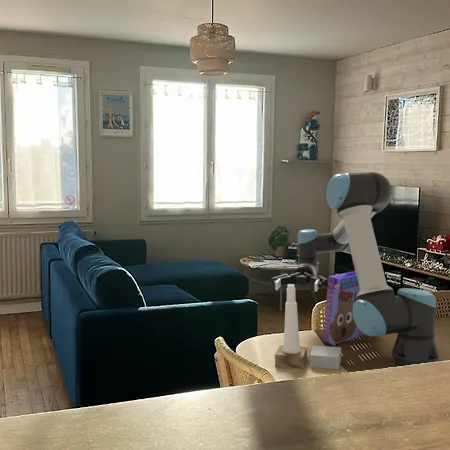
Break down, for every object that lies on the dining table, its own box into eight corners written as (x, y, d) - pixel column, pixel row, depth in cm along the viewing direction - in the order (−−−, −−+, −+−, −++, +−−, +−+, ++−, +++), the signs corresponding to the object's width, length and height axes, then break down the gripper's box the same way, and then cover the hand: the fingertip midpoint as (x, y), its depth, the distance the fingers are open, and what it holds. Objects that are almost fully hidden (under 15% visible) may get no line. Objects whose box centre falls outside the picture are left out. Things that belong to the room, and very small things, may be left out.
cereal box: (333, 345, 198) (339, 279, 194) (322, 340, 202) (328, 275, 197) (363, 335, 209) (369, 272, 205) (352, 331, 213) (359, 269, 208)
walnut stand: (306, 358, 188) (306, 347, 187) (303, 368, 179) (302, 356, 179) (280, 356, 190) (280, 345, 190) (275, 366, 182) (274, 354, 181)
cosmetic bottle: (304, 349, 185) (303, 283, 182) (296, 355, 180) (295, 287, 177) (287, 346, 188) (286, 281, 185) (279, 351, 183) (278, 285, 180)
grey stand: (341, 359, 186) (341, 347, 186) (338, 369, 178) (338, 357, 177) (313, 356, 189) (313, 345, 188) (310, 367, 180) (310, 355, 180)
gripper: (337, 285, 211) (332, 299, 191) (272, 283, 218) (260, 296, 197) (337, 265, 210) (332, 277, 190) (271, 264, 217) (260, 275, 197)
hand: (295, 287), depth 194 cm, fingers open, 13 cm apart
